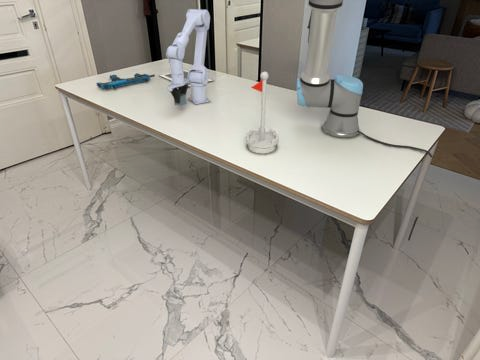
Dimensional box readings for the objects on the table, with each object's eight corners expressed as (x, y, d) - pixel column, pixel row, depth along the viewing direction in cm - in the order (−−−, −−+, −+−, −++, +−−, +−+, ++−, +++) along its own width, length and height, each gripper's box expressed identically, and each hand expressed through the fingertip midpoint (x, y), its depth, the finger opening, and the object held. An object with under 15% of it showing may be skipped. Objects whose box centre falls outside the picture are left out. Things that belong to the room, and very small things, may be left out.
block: (186, 103, 166) (185, 94, 164) (181, 106, 163) (180, 96, 161) (179, 102, 168) (178, 93, 165) (174, 104, 165) (173, 95, 162)
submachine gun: (140, 68, 226) (159, 74, 209) (142, 73, 228) (160, 80, 211) (89, 77, 207) (104, 85, 190) (90, 84, 209) (106, 92, 192)
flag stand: (269, 137, 144) (273, 65, 127) (283, 151, 134) (289, 74, 117) (240, 142, 140) (240, 68, 123) (253, 157, 130) (255, 78, 113)
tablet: (159, 75, 221) (159, 75, 220) (185, 70, 232) (185, 69, 231) (186, 87, 200) (186, 86, 200) (213, 80, 211) (213, 80, 211)
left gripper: (179, 68, 164) (182, 95, 172) (160, 76, 153) (164, 104, 161) (191, 70, 162) (193, 97, 169) (173, 78, 151) (176, 107, 158)
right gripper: (319, -11, 168) (314, 35, 179) (303, -7, 149) (299, 44, 161) (334, -10, 165) (328, 37, 176) (320, -6, 146) (314, 46, 158)
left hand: (180, 101), depth 165 cm, fingers closed on block, 4 cm apart
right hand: (314, 40), depth 169 cm, fingers open, 13 cm apart
